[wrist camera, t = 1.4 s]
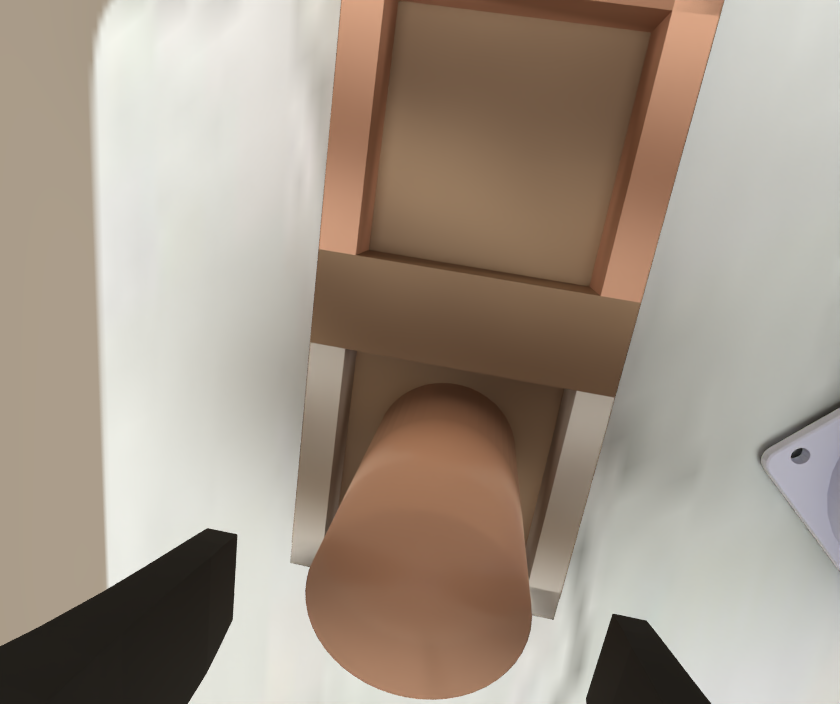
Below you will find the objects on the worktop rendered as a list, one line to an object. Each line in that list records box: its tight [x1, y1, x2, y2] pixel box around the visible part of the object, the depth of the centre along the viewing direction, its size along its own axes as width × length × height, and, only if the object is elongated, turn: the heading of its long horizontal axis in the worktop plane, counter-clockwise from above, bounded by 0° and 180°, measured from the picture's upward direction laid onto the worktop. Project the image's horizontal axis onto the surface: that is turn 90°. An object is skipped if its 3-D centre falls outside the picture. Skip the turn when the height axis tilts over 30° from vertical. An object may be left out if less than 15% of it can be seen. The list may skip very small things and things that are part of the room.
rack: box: [290, 0, 724, 620], centre depth 15 cm, size 18×9×2 cm, turn 171°
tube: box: [305, 383, 532, 700], centre depth 14 cm, size 4×4×7 cm
